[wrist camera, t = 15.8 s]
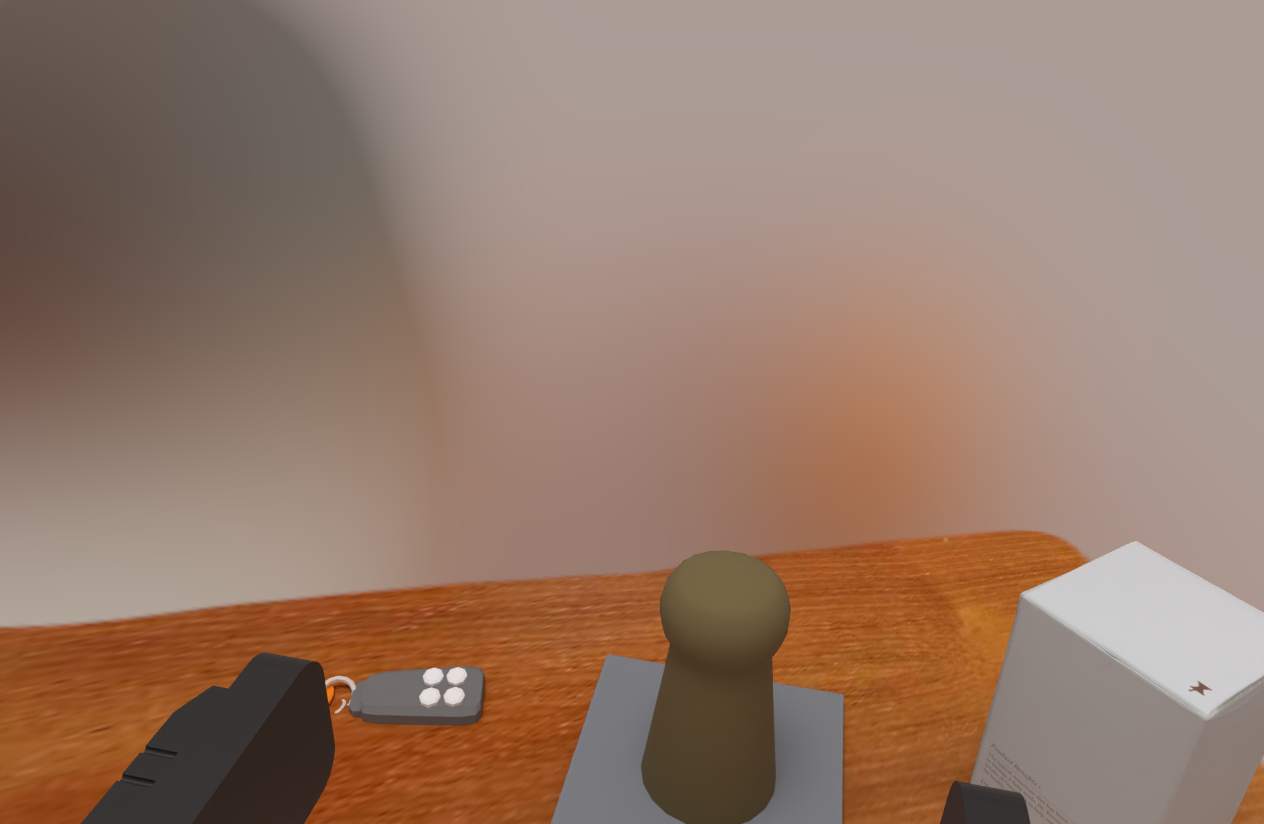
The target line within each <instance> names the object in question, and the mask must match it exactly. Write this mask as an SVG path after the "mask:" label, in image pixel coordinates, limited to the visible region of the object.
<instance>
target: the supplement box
mask: <svg viewBox="0 0 1264 824" xmlns="http://www.w3.org/2000/svg"><path fill="white" fill-rule="evenodd" d="M1263 755H1264V613H1263V612H1261V611H1260V610H1258V609H1256V608H1254V607H1252V606H1251V605H1249V604H1247V603H1245V602H1244V601H1242V600H1240V599H1238V598H1236V597H1234V596H1233V595H1231V594H1229V593H1227V592H1226V591H1224V590H1222V589H1220V588H1218V587H1217V586H1215V585H1213V584H1211V583H1209V582H1207V581H1206V580H1204V579H1202V578H1201V577H1199V576H1197V575H1195V574H1193V573H1191V572H1190V571H1188V570H1186V569H1184V568H1183V567H1181V566H1179V565H1177V564H1175V563H1174V562H1172V561H1170V560H1168V559H1167V558H1165V557H1163V556H1161V555H1160V554H1158V553H1156V552H1154V551H1152V550H1151V549H1149V548H1147V547H1146V546H1144V545H1142V544H1140V543H1139V542H1136V541H1133V542H1131V543H1129V544H1127V545H1125V546H1123V547H1121V548H1118V549H1116V550H1114V551H1112V552H1110V553H1108V554H1106V555H1104V556H1102V557H1099V558H1097V559H1095V560H1093V561H1091V562H1089V563H1087V564H1085V565H1083V566H1081V567H1079V568H1077V569H1075V570H1073V571H1071V572H1068V573H1066V574H1064V575H1061V576H1059V577H1057V578H1054V579H1052V580H1050V581H1047V582H1045V583H1043V584H1040V585H1038V586H1036V587H1034V588H1032V589H1029V590H1027V591H1024V592H1022V593H1021V594H1020V598H1019V602H1018V607H1017V612H1016V616H1015V620H1014V624H1013V628H1012V632H1011V636H1010V640H1009V643H1008V647H1007V650H1006V654H1005V658H1004V661H1003V665H1002V669H1001V672H1000V676H999V680H998V683H997V686H996V690H995V693H994V697H993V701H992V704H991V708H990V712H989V715H988V719H987V722H986V726H985V730H984V733H983V737H982V740H981V744H980V748H979V752H978V755H977V758H976V762H975V766H974V769H973V773H972V777H971V782H970V784H975V785H981V786H986V787H992V788H997V789H1003V790H1008V791H1014V792H1019V793H1021V794H1022V795H1023V797H1024V799H1025V802H1026V805H1027V809H1028V814H1029V819H1030V824H1231V823H1232V821H1233V819H1234V817H1235V814H1236V812H1237V810H1238V808H1239V805H1240V803H1241V801H1242V799H1243V797H1244V795H1245V793H1246V791H1247V788H1248V786H1249V784H1250V782H1251V780H1252V778H1253V776H1254V774H1255V771H1256V769H1257V767H1258V765H1259V763H1260V761H1261V759H1262V757H1263Z"/></svg>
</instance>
